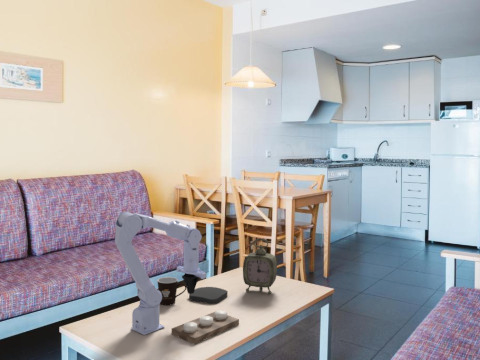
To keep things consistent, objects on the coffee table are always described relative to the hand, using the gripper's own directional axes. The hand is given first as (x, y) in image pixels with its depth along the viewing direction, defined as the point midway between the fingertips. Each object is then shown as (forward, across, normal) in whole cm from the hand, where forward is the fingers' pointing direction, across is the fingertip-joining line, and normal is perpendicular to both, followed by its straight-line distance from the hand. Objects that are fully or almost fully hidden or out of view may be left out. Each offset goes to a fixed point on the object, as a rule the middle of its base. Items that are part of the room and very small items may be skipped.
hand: (190, 293), depth 173 cm
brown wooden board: (+10, -11, +2) cm, 15 cm away
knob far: (+10, -11, -5) cm, 16 cm away
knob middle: (+10, -11, +3) cm, 15 cm away
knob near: (+10, -11, +10) cm, 18 cm away
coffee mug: (+11, +19, -6) cm, 23 cm away
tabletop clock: (+11, +1, -45) cm, 46 cm away
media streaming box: (+11, +13, -23) cm, 29 cm away
